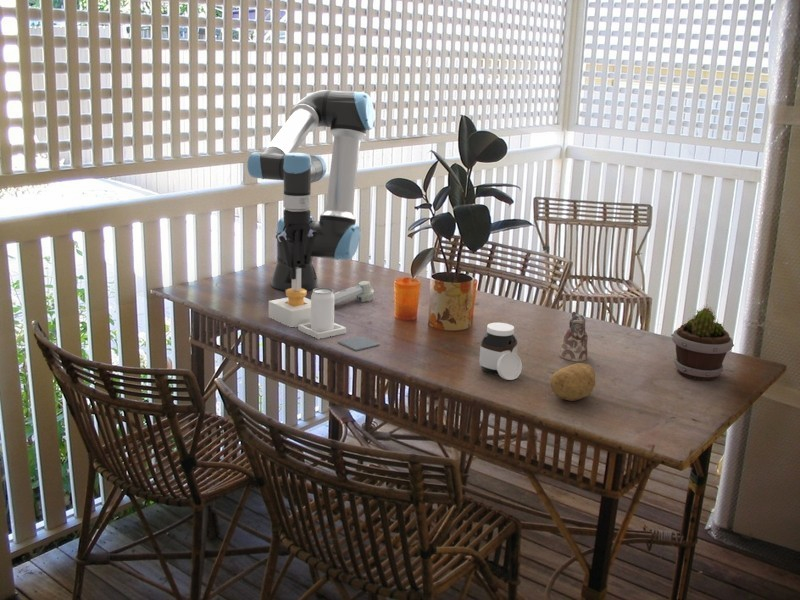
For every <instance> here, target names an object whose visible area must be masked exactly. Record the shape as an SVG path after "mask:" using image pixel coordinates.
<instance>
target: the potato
mask: <svg viewBox="0 0 800 600" xmlns="http://www.w3.org/2000/svg"><path fill="white" fill-rule="evenodd" d="M595 386H596V372H595V370H594V368H593V367H592V366H591V365H589V364H588V363H582V362H578V363H574V364H570V365H567V366H565V367H561V368H560V369H559V370H557V371H555V372H554V373H553V375H552V377H551V379H550V387H551V390H552V392H553V393H554V395H556V397H558V398H561V399H562V400H566V401H571V402H572V401H573V402H575V401H579V400H581V399H583V398H586V397H587V396H590V395H591V393H592V391H593V390H594V388H595Z"/></svg>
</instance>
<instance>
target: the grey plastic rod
mask: <svg viewBox="0 0 800 600" xmlns="http://www.w3.org/2000/svg"><path fill="white" fill-rule="evenodd" d="M333 294H334V307H335V306H337V305H339V304H341V303H344V302H346V301H348V300H350V299H354V298H355V297H356V301H358V302H360V301H361V303H365V302H368V301H369V302H371V301H373V299H374V294H375V290H374V289H373V288H372V285H371V283H370V281H369V280H363V281H359V282H358V284H357V285H354V286H352V287H348V288H345V289H342V290H339V291H335V292H333Z"/></svg>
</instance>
